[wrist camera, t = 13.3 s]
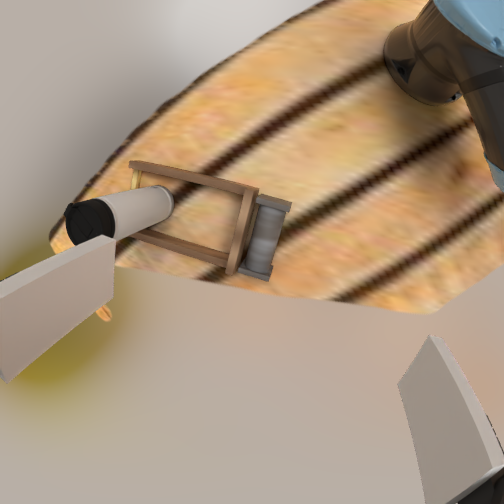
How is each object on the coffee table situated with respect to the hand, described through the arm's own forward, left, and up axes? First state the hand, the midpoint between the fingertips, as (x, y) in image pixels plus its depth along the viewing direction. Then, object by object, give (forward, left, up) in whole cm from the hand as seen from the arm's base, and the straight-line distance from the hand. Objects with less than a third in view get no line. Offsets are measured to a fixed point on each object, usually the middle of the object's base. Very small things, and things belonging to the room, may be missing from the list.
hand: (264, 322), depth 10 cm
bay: (+6, -14, -35) cm, 38 cm away
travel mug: (+6, -23, -35) cm, 42 cm away
